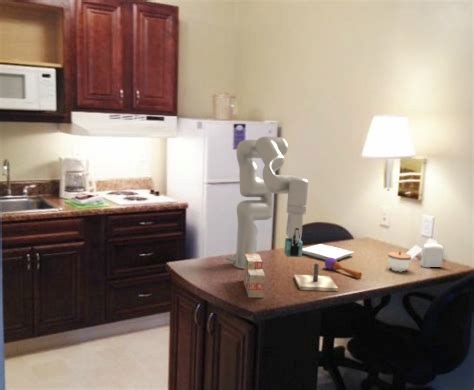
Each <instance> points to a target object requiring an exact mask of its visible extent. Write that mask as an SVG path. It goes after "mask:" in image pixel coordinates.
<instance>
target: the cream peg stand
mask: <svg viewBox="0 0 474 390" xmlns="http://www.w3.org/2000/svg"><path fill="white" fill-rule="evenodd" d="M319 268H320V264H319V263H316V262H315V263H314V265H313V275H311V274H293V278H294V281H295V283H296V285H297V287H298V290H301V291H317V292H319V291H320V292H323V291H324V292H338V290H339V287H338V286H337V284H336V283H335V282H334V280H333V279H332V278H331V276H330V275H319Z"/></svg>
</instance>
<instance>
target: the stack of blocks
mask: <svg viewBox="0 0 474 390" xmlns="http://www.w3.org/2000/svg"><path fill="white" fill-rule="evenodd" d="M263 262H264V261H263V260H262V259H261V255H260V254H259V253H256V254H245V261H244V269H243V285H244V287H245V290H246V294H247V297H248V298H264V291H265V283H266V274H265V272H264V269H263Z"/></svg>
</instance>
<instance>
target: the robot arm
mask: <svg viewBox="0 0 474 390" xmlns="http://www.w3.org/2000/svg"><path fill="white" fill-rule="evenodd" d="M288 148H289V147H288V143H287V141H286V140H285V138H283V137H280V136H261V137H259V138H258V139H244V140H240V141H239V143H238V144H237V146H236V152H235V153H236V155H235V156H236V159H237V163H238V168H239V174H238V175H239V193H240V195H241V197H244V198H260V199H249V200H248V199H247V200H241V201H240V202H238V204H237V206H236V216H237V235H236V252H235V255H232V256H230V255H226V261H228V262H232V263H231V264H232V266H233V267H234V268H238V269H243V270H244V261H245V254H257V247H258V246H257V245H258V233H259V232H258V231H259V230H258V227H257V225H256V224H255V222H254V221H267V220H270V219H272V217H273V213H274V195H275V194H277V195H279V194H280V195H281V194H286V195H287V202H286V204H287V205H286V213H287V214H288V215H287V223H286V229H285V234H286V236H287V238H292V245H291V250H290V255H291V256H298V253H299V239H302V233H303V222H304V221H303V219H304V215H306V214H307V201H308V199H307V198H308V191H309V181H308V179H306V178H302V177H300V176H298V175H293V174H291V175H290V174H276V173H275V172H276V171H278V170H280V168H282V166H283V165H284V163H285V159H284V156H285V155H286V154H287V152H288ZM254 159H261V161H262V162H263V164H264V166H263V168H262V176H261V177H259V176H258V166H257V164H256V161H254ZM293 240H294V242H293Z"/></svg>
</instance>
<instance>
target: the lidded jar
mask: <svg viewBox="0 0 474 390" xmlns="http://www.w3.org/2000/svg"><path fill="white" fill-rule="evenodd" d="M387 255H388V257H387V258H388V259H387V262H388V265H389V267H390V268H391V270H392V271H394V272H397V271H399V272H400V273H403V272H402V271H404V272H405V271H406V270H408V269H409V266H410V265H411V261H412V260H411V259H412V255H410V254H408V253H405V252H402V251H391V252H388V254H387Z"/></svg>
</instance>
